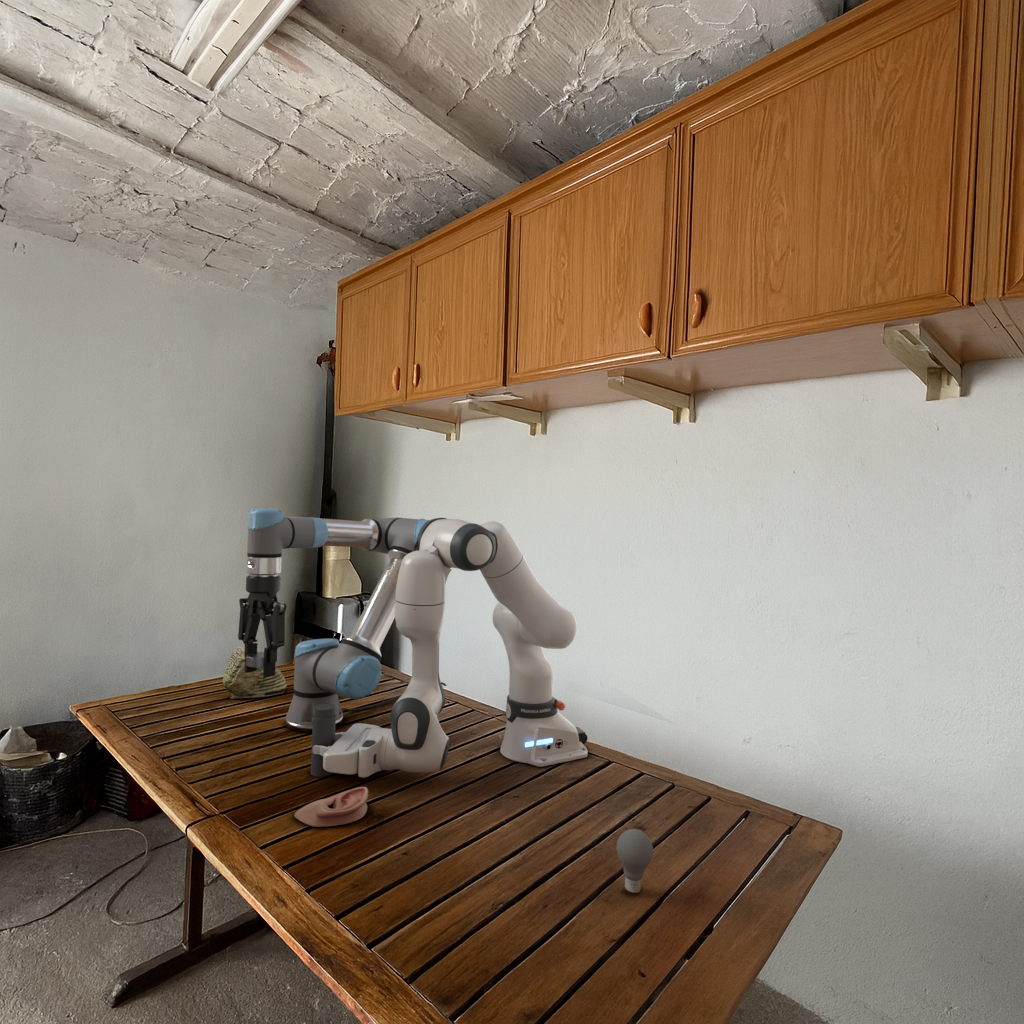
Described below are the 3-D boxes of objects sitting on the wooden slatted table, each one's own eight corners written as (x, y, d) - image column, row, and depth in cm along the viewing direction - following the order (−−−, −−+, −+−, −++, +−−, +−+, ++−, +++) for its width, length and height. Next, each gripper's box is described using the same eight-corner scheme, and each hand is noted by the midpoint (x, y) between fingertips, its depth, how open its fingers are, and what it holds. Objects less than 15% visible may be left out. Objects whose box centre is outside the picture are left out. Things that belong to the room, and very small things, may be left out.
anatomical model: (286, 802, 122) (316, 777, 134) (285, 822, 122) (315, 795, 134) (350, 811, 120) (375, 785, 131) (349, 832, 120) (374, 804, 131)
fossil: (218, 695, 195) (220, 647, 195) (278, 685, 208) (279, 640, 207) (228, 703, 189) (230, 653, 188) (289, 692, 201) (290, 645, 201)
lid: (254, 669, 143) (255, 659, 143) (241, 663, 147) (241, 654, 147) (278, 664, 148) (278, 655, 148) (264, 659, 152) (265, 650, 151)
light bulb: (610, 879, 108) (613, 822, 108) (644, 879, 109) (647, 822, 109) (619, 902, 102) (622, 840, 102) (655, 901, 103) (658, 840, 103)
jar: (333, 766, 149) (335, 702, 148) (333, 775, 144) (336, 709, 144) (310, 768, 147) (313, 703, 147) (310, 777, 142) (313, 710, 142)
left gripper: (223, 572, 148) (219, 670, 149) (278, 580, 139) (273, 685, 140) (250, 569, 155) (246, 664, 155) (304, 577, 146) (300, 677, 146)
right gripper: (391, 719, 154) (336, 714, 156) (364, 751, 134) (301, 746, 135) (390, 744, 155) (335, 740, 156) (362, 781, 134) (300, 775, 136)
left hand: (259, 673), depth 147 cm, fingers closed on lid, 6 cm apart
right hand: (319, 743), depth 145 cm, fingers closed on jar, 5 cm apart
